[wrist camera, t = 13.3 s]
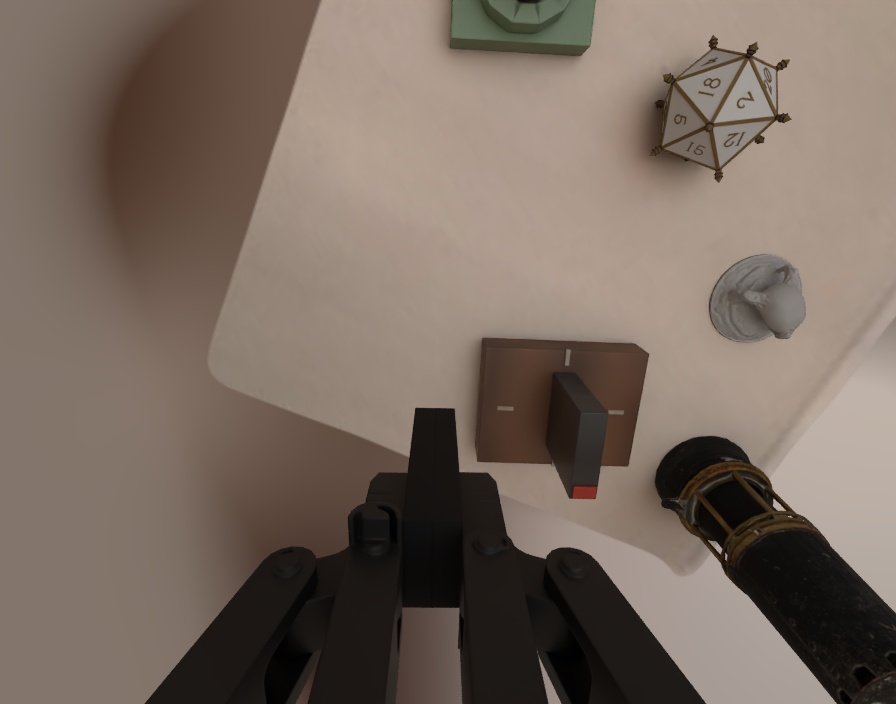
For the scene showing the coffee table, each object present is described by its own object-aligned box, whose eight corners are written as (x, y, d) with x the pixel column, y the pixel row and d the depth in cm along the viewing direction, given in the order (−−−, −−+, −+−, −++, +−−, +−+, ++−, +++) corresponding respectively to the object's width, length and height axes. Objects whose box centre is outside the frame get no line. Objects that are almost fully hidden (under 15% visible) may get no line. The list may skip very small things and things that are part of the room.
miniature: (724, 356, 42) (759, 374, 38) (698, 282, 40) (731, 291, 36) (810, 316, 41) (856, 330, 37) (787, 238, 39) (833, 242, 35)
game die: (656, 105, 39) (713, -24, 30) (756, 141, 37) (851, 16, 28) (613, 181, 37) (661, 67, 27) (717, 223, 35) (807, 117, 26)
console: (474, 446, 45) (477, 464, 42) (482, 336, 41) (486, 346, 38) (616, 451, 45) (628, 468, 42) (635, 342, 42) (650, 353, 39)
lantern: (637, 480, 46) (956, 925, 18) (706, 417, 44) (1196, 805, 16) (695, 528, 48) (1069, 1001, 19) (764, 470, 46) (1296, 902, 17)
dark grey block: (553, 372, 39) (581, 413, 31) (576, 373, 39) (610, 414, 31) (545, 445, 41) (570, 500, 33) (567, 445, 41) (597, 501, 34)
